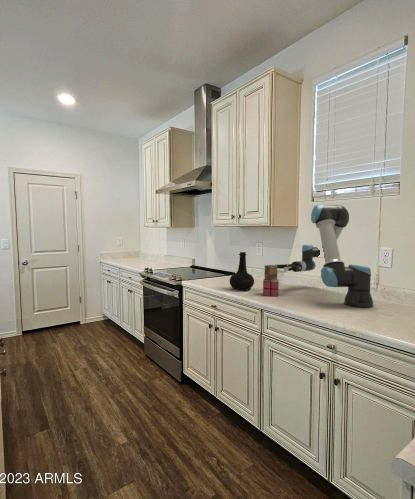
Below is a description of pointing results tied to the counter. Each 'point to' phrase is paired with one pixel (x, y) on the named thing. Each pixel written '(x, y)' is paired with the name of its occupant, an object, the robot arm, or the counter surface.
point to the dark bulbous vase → (242, 276)
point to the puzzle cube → (270, 288)
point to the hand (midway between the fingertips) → (277, 268)
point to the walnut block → (270, 273)
